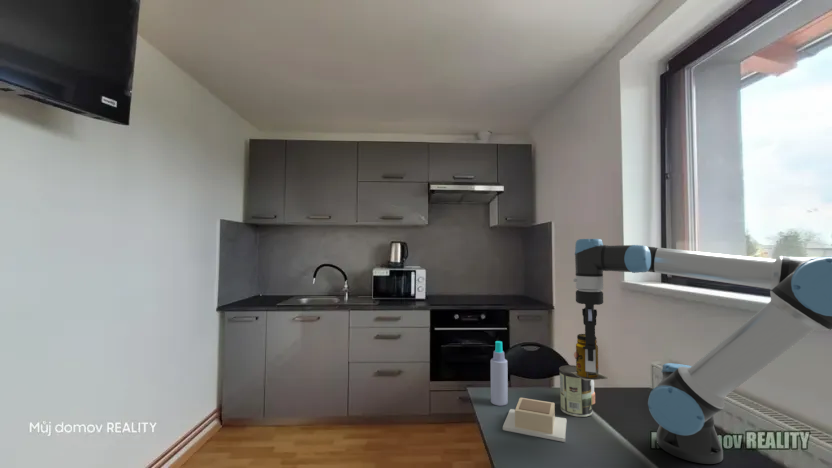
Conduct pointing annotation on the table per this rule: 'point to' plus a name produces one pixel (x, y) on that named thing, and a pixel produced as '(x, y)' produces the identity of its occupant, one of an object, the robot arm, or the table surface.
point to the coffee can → (574, 393)
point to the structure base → (554, 436)
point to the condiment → (581, 361)
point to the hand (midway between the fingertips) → (590, 367)
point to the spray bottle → (499, 376)
